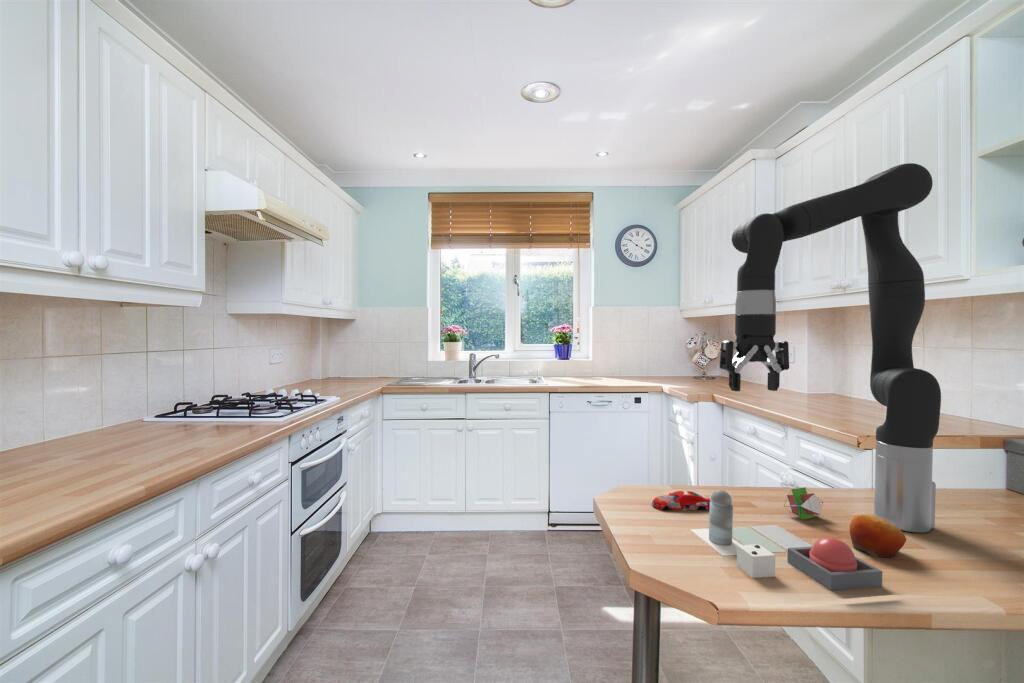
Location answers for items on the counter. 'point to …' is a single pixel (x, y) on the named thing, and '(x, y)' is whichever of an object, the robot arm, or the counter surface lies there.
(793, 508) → the geometric puzzle
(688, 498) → the race car
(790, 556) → the gray square tray
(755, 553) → the die
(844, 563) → the dome
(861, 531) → the fruit
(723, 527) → the ridged rounded cylinder
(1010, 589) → the counter surface
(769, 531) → the game board
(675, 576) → the counter surface
